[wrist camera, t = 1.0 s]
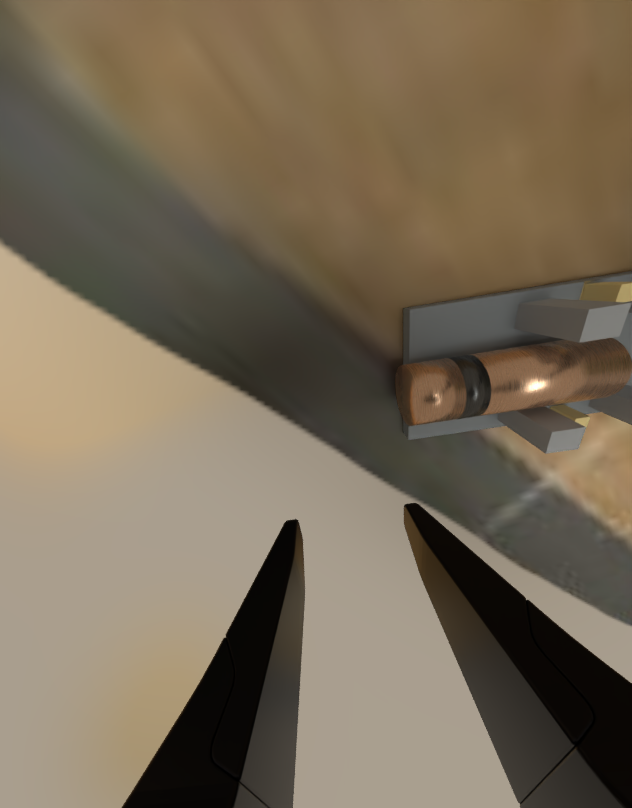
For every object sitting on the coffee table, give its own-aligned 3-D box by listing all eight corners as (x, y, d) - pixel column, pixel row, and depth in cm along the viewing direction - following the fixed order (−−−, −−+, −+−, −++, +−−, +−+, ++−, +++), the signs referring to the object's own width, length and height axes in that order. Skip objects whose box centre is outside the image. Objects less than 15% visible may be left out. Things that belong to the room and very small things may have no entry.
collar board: (707, 258, 16) (886, 246, 11) (644, 396, 21) (754, 432, 16) (403, 308, 17) (444, 317, 12) (403, 432, 21) (433, 477, 16)
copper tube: (572, 330, 17) (644, 342, 13) (556, 384, 19) (617, 408, 15) (394, 357, 17) (418, 377, 14) (395, 409, 19) (416, 438, 15)
